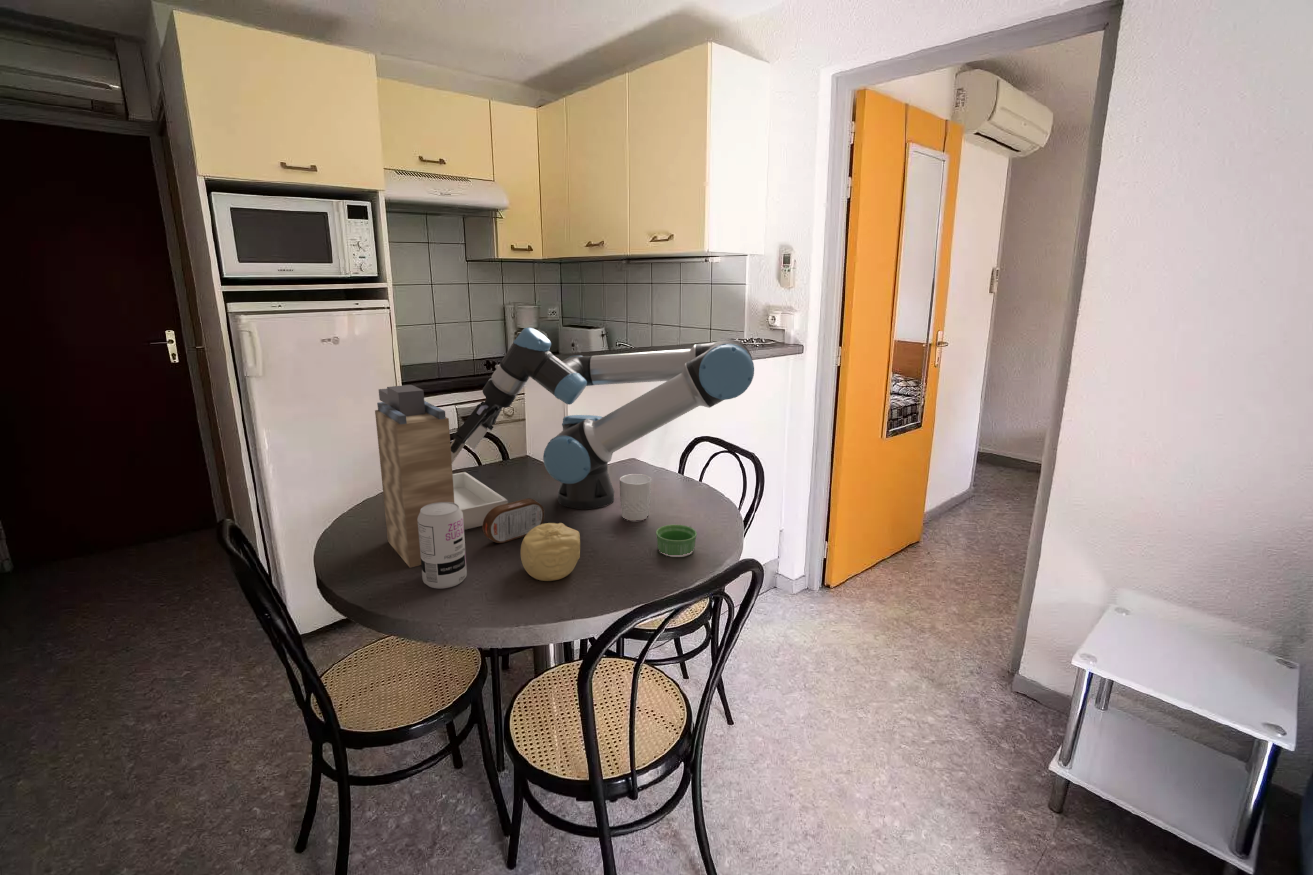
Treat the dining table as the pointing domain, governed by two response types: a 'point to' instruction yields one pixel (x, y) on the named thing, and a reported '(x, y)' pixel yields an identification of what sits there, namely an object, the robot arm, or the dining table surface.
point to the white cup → (635, 496)
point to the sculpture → (550, 551)
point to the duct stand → (412, 471)
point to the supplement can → (442, 545)
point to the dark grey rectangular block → (404, 399)
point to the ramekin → (676, 539)
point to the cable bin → (474, 499)
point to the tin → (512, 520)
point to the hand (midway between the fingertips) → (459, 453)
